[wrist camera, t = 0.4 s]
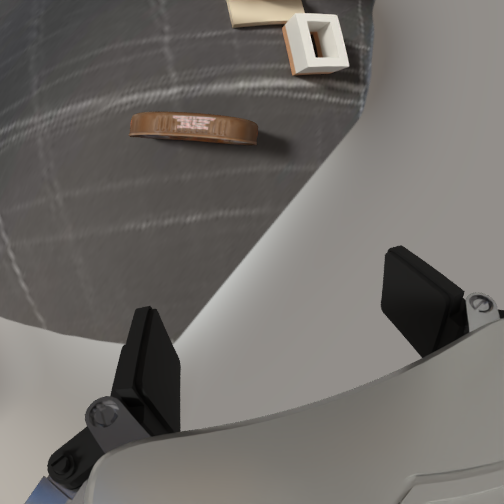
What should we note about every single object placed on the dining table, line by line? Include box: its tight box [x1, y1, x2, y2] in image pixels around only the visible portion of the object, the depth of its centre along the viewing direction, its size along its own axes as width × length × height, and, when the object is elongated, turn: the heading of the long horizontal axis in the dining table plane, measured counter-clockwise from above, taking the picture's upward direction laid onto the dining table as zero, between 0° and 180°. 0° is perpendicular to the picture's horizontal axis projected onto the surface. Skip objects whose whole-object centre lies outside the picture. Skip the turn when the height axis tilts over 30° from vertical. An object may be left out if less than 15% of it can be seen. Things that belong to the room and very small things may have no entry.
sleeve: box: [282, 13, 349, 76], centre depth 28 cm, size 8×6×6 cm
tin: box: [129, 112, 258, 145], centre depth 30 cm, size 15×3×8 cm, turn 82°
